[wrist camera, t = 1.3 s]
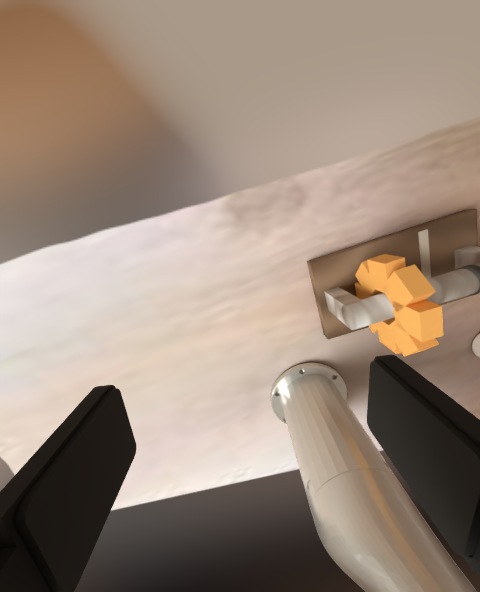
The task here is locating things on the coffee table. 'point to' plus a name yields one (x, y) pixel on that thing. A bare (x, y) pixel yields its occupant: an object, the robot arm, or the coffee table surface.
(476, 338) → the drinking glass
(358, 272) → the collar
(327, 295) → the pipe stand
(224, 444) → the coffee table surface
